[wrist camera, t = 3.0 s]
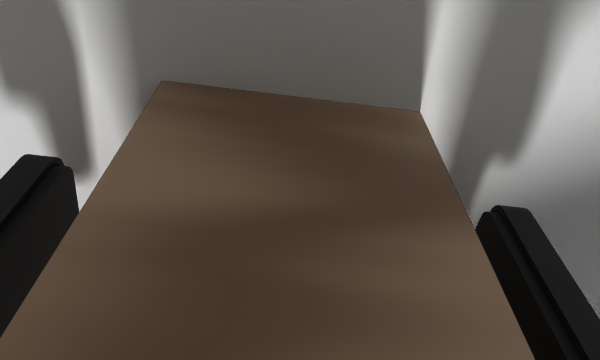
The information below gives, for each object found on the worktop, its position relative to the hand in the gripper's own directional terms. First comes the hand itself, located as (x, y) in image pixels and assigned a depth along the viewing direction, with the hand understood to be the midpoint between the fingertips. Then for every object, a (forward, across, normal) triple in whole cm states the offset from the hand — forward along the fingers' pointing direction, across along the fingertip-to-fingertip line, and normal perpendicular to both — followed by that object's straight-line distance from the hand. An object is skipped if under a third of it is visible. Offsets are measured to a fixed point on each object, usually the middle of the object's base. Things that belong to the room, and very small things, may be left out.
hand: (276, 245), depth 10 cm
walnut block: (+1, 0, 0) cm, 1 cm away
